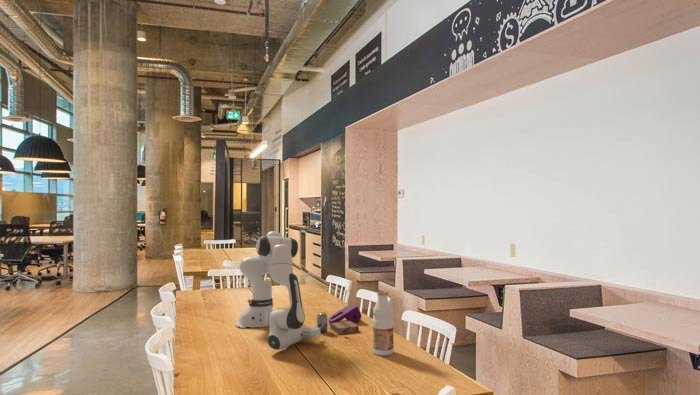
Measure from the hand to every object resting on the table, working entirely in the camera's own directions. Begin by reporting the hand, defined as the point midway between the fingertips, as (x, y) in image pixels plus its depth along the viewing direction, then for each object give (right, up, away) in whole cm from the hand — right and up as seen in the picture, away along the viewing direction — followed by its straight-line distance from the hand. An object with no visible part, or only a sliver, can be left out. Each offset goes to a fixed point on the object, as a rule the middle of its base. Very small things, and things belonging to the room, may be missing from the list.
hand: (309, 326), depth 234 cm
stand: (+18, -5, +13) cm, 23 cm away
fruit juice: (+36, -5, -25) cm, 44 cm away
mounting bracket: (+17, -6, +30) cm, 35 cm away
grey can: (+6, -6, +10) cm, 13 cm away
